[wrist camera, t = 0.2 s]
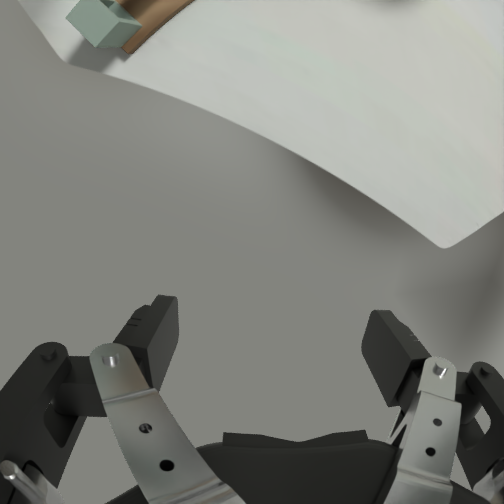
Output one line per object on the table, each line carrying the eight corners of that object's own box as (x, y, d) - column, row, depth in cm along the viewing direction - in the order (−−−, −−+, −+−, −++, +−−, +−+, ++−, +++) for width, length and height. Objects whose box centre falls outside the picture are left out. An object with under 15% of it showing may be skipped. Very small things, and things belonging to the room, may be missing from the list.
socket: (93, 20, 23) (65, 17, 18) (113, -1, 21) (87, -8, 16) (121, 47, 26) (95, 47, 21) (142, 26, 25) (119, 21, 19)
